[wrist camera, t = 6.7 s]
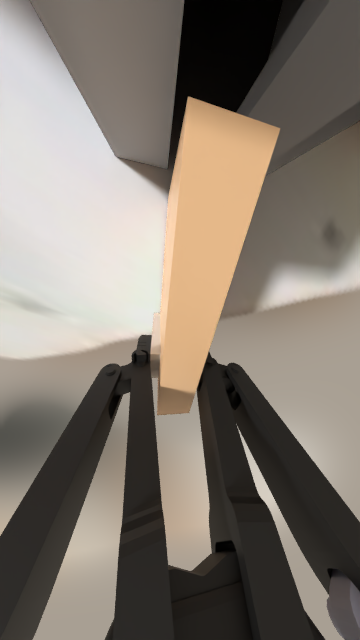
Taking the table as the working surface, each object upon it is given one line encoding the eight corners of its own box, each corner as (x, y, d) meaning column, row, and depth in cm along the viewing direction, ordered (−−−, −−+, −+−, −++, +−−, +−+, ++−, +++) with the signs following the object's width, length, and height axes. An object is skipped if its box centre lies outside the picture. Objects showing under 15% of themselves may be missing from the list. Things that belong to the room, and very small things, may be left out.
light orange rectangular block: (168, 198, 11) (188, 96, 3) (197, 204, 11) (280, 127, 3) (158, 338, 18) (157, 415, 10) (176, 338, 18) (188, 413, 10)
